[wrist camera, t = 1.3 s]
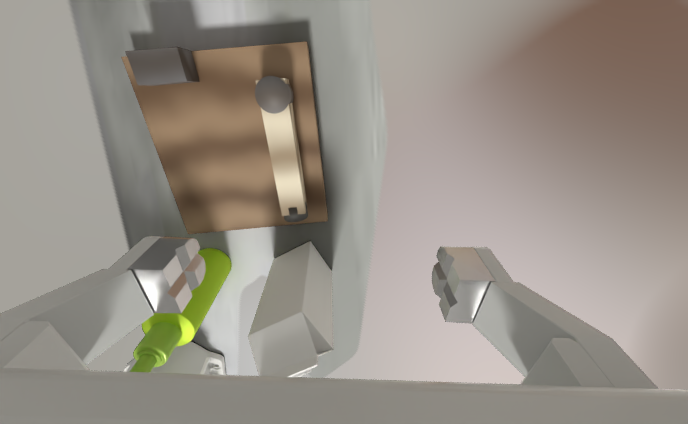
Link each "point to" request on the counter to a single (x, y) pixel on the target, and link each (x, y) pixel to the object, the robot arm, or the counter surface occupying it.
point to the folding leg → (283, 145)
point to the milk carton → (293, 315)
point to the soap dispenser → (181, 316)
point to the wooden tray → (226, 131)
